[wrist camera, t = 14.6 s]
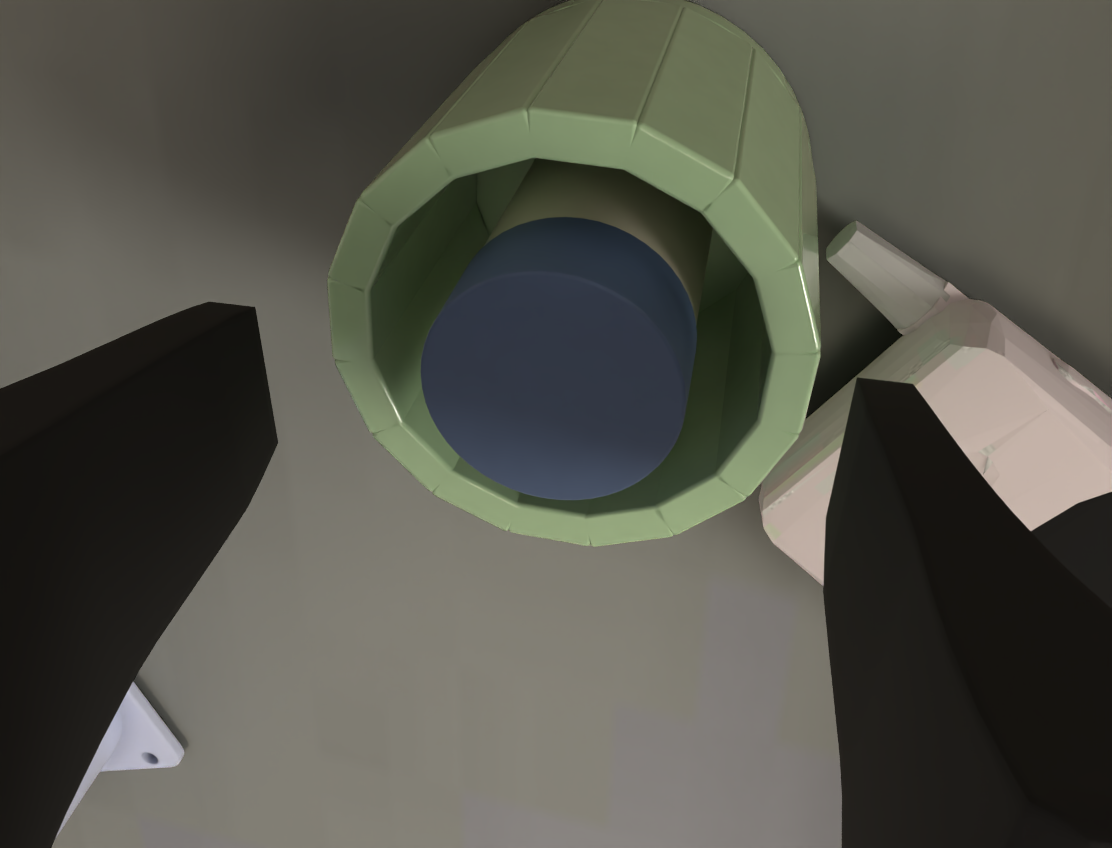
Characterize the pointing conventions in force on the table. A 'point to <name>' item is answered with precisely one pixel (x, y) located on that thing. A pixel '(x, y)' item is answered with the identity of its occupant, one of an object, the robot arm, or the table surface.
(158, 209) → the table surface
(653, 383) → the lidded container
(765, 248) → the pen cup
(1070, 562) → the mobile phone
